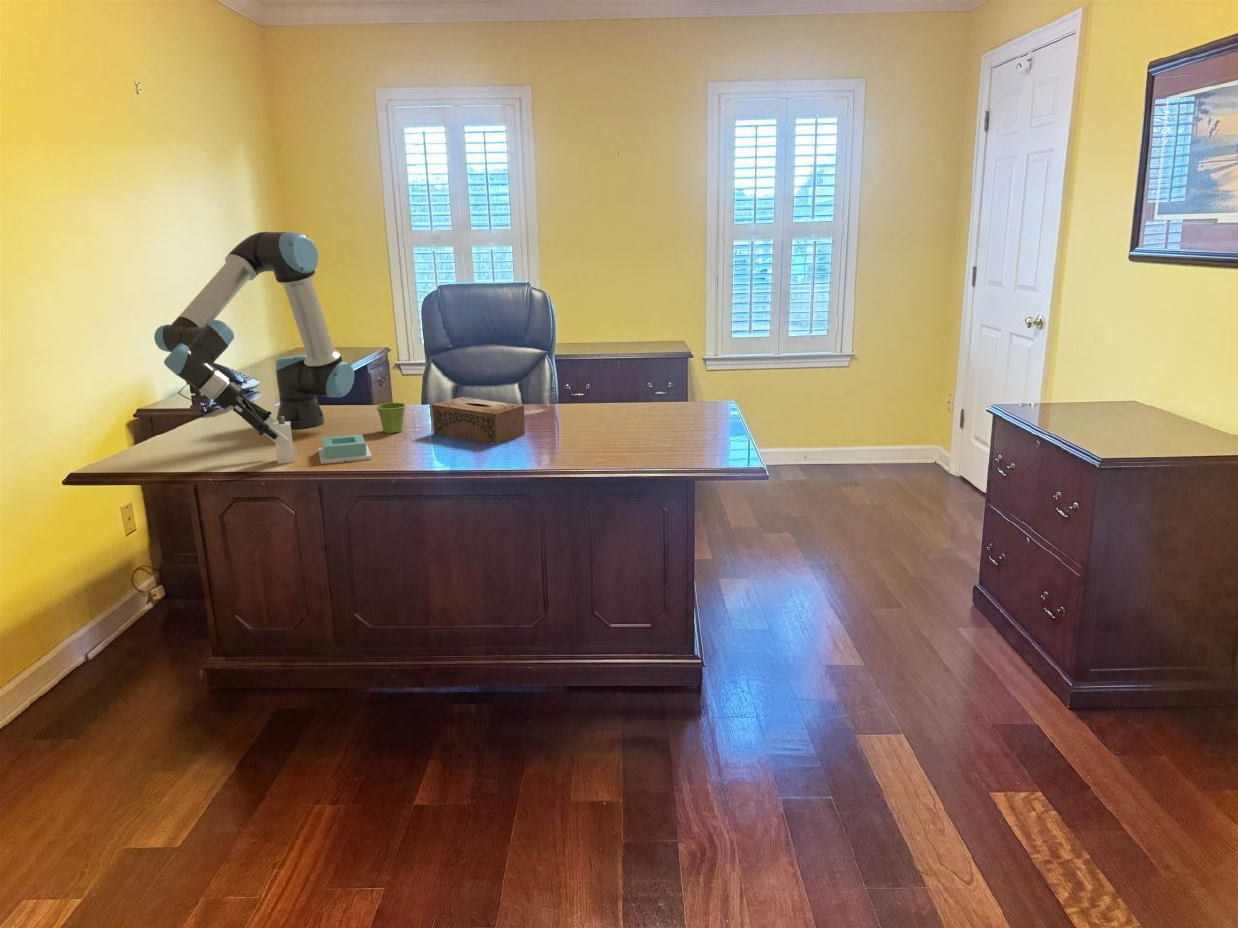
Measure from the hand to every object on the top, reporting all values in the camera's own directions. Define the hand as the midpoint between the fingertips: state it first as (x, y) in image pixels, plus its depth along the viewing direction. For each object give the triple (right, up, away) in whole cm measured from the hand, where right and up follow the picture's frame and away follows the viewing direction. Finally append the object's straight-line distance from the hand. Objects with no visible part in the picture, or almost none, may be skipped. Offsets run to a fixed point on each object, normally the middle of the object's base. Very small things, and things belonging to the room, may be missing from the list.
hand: (286, 438), depth 236 cm
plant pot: (+21, +3, +36) cm, 41 cm away
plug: (-1, -6, +2) cm, 7 cm away
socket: (+14, -5, +8) cm, 17 cm away
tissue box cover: (+50, +2, +33) cm, 59 cm away
